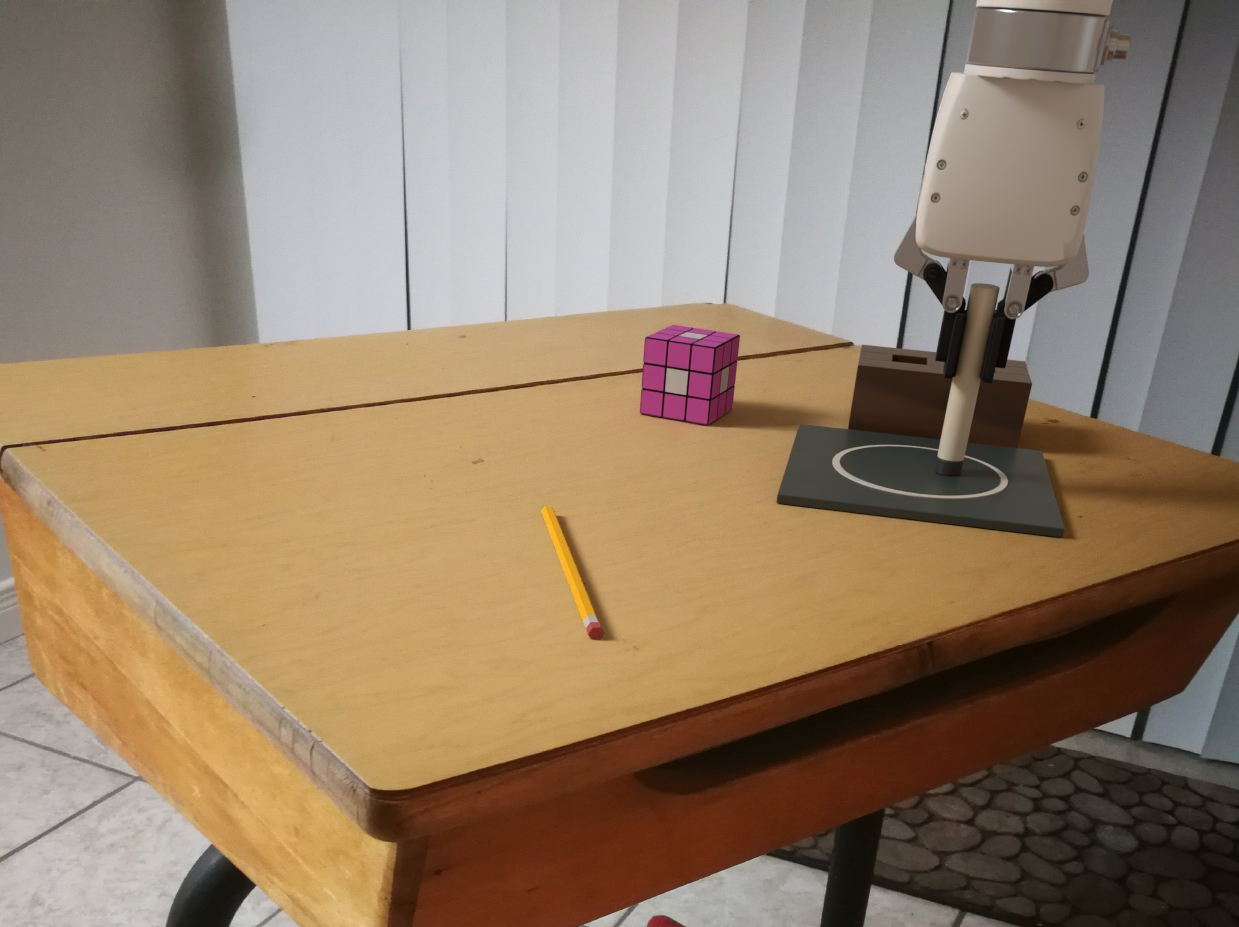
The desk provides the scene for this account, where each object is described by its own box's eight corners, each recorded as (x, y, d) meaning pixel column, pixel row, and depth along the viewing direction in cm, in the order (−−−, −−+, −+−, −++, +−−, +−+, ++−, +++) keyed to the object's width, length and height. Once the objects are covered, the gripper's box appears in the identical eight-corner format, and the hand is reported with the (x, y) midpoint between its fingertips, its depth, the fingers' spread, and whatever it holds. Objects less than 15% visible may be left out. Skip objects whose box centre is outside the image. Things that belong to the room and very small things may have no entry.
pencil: (587, 640, 63) (588, 627, 63) (540, 516, 78) (541, 505, 78) (603, 640, 64) (604, 627, 63) (553, 516, 79) (554, 505, 78)
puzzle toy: (666, 398, 104) (672, 324, 101) (732, 409, 102) (740, 334, 99) (639, 413, 99) (644, 336, 96) (708, 425, 98) (715, 347, 94)
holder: (851, 408, 105) (861, 344, 102) (1010, 425, 103) (1025, 361, 100) (847, 432, 98) (857, 364, 96) (1016, 451, 96) (1032, 383, 94)
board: (1040, 458, 95) (1042, 448, 95) (1062, 537, 80) (1065, 526, 80) (798, 431, 98) (799, 421, 97) (776, 503, 83) (777, 492, 82)
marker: (960, 470, 89) (999, 284, 83) (961, 477, 88) (1000, 289, 81) (934, 467, 89) (970, 281, 83) (934, 474, 88) (971, 286, 81)
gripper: (1164, 59, 77) (1083, 376, 87) (898, 39, 79) (850, 351, 89) (1185, 62, 71) (1096, 403, 81) (896, 40, 73) (844, 375, 83)
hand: (967, 374), depth 85 cm, fingers closed on marker, 1 cm apart
